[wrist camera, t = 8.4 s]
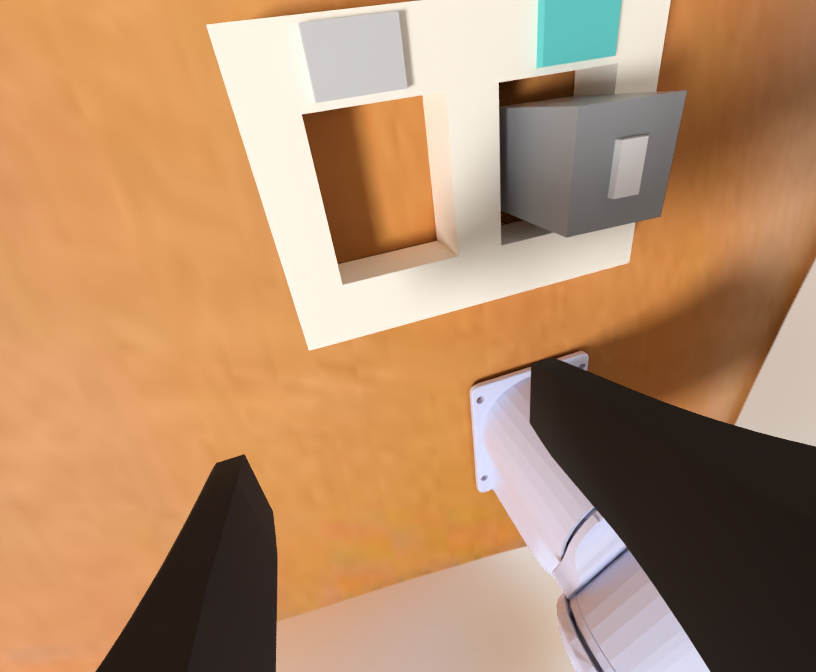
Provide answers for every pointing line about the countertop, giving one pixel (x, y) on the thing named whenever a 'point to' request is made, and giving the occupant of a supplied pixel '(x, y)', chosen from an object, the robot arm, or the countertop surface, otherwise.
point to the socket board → (446, 138)
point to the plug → (588, 159)
